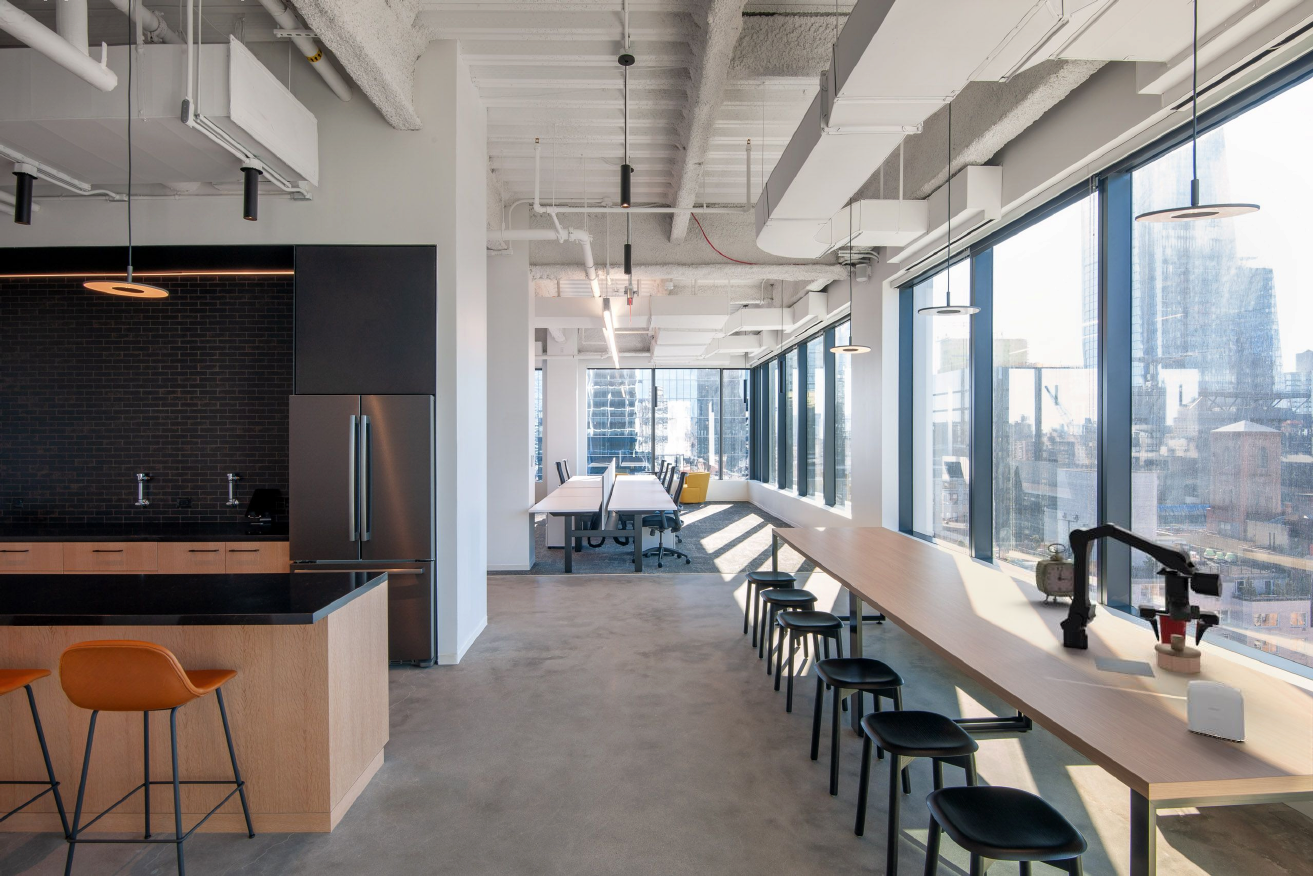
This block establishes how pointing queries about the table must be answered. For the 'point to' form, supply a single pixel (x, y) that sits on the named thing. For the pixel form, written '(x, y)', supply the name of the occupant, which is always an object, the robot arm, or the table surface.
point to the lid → (1177, 648)
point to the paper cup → (1171, 628)
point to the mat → (1124, 666)
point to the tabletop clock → (1055, 576)
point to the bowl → (1178, 663)
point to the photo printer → (1215, 709)
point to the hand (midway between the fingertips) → (1177, 643)
